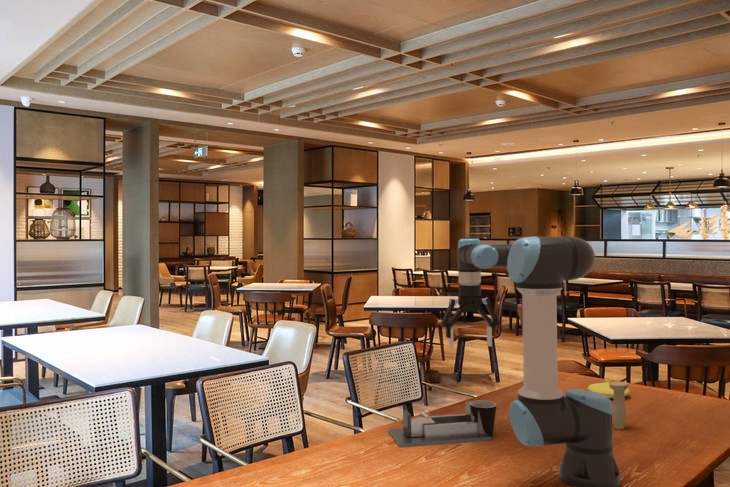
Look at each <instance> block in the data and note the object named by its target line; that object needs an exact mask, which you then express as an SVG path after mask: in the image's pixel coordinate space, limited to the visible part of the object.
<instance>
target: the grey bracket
mask: <svg viewBox="0 0 730 487" xmlns="http://www.w3.org/2000/svg"><path fill="white" fill-rule="evenodd" d="M411 414H412V413H410V412H409V411H408V410H407V409H402V428H403V432H404V433H405V434H406V436H407V437H416V436H424V425H431V424H435V422H434V421H433V420H432V419H431V418H430V417H429V416H430V415H429V416H428V415H427V414H426V413H425V411H421V414H422V415H423V417H426V418H412V415H411Z"/></svg>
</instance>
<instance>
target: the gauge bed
mask: <svg viewBox="0 0 730 487" xmlns="http://www.w3.org/2000/svg"><path fill="white" fill-rule="evenodd" d="M472 401H473V400H466V401H465V404H464V405H465V413H458V414H455V413H454V414H443V415H442V414H441V415H429V417H430V418H431V419H432V420H433V421H434V422H435V424H431V425H424V436H416V437H407V436H406V434H405V433H404V432H403V427H391V428H390V427H389V428H388V433H389V435H391V437H392V439H394V441H395V443H396V444H397V445H398V447H399V448H408V447H419V446H431V445H433V446H435V445H443V444H444V445H446V444H457V443H459V444H460V443H471V442H483V441H484V442H485V441H492V437H491V436H490V435H487V434H486V433H485V432H484V429H483V427H482V422H481V418H480V413H479V411H478V421H477V422H474V421H473V422H472V418H471V409H470V402H472ZM473 406H476V407H482V406H480V405H473ZM416 418H426V417H425V416H416Z"/></svg>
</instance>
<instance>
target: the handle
mask: <svg viewBox="0 0 730 487" xmlns="http://www.w3.org/2000/svg"><path fill="white" fill-rule="evenodd" d="M609 386H610V388H611V389H613V390H614V398H613V401H612V402H613V404H612V405H613V406H612V412H613V415H612V421H613V423H614V424H613V426H614V427H613V428H615V430H624V429H625V426H626V425H625V424H626V417H627V414H626V413H627V412H626V401H625V400H626V398H625V397H626V396H624V391H625V390H626V389H627V388H628V389H629V386H630V385H629V382H625V381H611V383H610V384H609Z"/></svg>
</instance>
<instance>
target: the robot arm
mask: <svg viewBox="0 0 730 487" xmlns="http://www.w3.org/2000/svg"><path fill="white" fill-rule="evenodd" d="M595 261H596V254H595V250H594V249H593V247H592V245H591V244H590V243H589V242H588V241H586V240H584V239H583V238H581V237H577V236H568V235H567V236H534V235H533V236H528V237H527V236H526V237H521V238H518V239H516V241H515V242H514V243H512V244H511V243H510V244H508V243H507V244H482V243H481V240H480V239H479V238H461V239H459V240H458V243H457V265H458V267H457V270H458V274H457V275H458V278H457V279H458V283H459V285H458V298H457V299H453V298H450V299H449V302H448V307H447V308H446V310H445V313H444V315H443V317H442V320H441V322H440V326H441V327H443V328H445V337H446V338H447V339H448V347H449V348H450V349H454V328H452V327H453V326H454V325H455V323H456V322H457V321H458V319H459V318H460V317H461V315H462V314H464V312H465V313H470V312H474V313H475V312H477V313H478V314H479V315H480V316H481V317H482V319H483V320H484V321H485V322H486V323H487V325H486V345H487V347H493V337H494V336H495V327H496V326H499V325H500V320H499V317H498V316H497V314H496V312H495V309H494V308H493V305H492V303H491V298H490V297H485V298H482V286H481V283H482V273H481V272H482V270H484V269H485V270H487V269H492V268H495V269H496V268H498V269H499V268H506V269H507V273H508V277H509V279H510V280H511V281H512V282H514V283H515V288H516V290H517V291H518V292H519V293H520V294H521V296H522V297H521V298H522V301H521V302H522V303H521V304H522V350H523V351H522V354H523V356H522V358H523V361H522V364H523V365H522V366H523V367H522V368H523V386H521V388H520V389H519V390H518V391H517V399H514V401H511V402H510V406H509V411H508V412H509V413H508V414H509V420H510V425H511V427H512V429H513V430H512V431H513V433H514V434H515V437H516V438H517V440H518V441H519V442H520V443H522V445H523V446H526V447H544V446H552V445H553V446H555V445H563V444H565V450H564V454H563V457H562V461H561V463H560V466H559V478H560V480H561V481H562V482H564V483H565V484H567V485H569V486H572V487H619V486H620V485H621V473H620V471H619V467H618V465H617V461H616V459H615V455H614V453H613V449H614V448H613V442H614V441H613V406H612V405H613V404H612V400H611V398H608V397H607V396H605V395H603V394H600V393H596V392H592V391H588V389H587V390H585V389H579V388H578V389H577V388H575V389H574V388H569V389H566V391H565V393H564V392H563V391H562V390H561V389H560V388H559V380H558V374H559V373H558V319H557V318H558V316H557V315H558V314H557V313H558V312H557V311H558V309H557V308H558V306H557V295H558V293H560V292H561V291H562V290H563V281H574V280H578V279H582V278H583V277H585V276H587V275H588V274H589V273H590V272H591V271H592V269H593V268H594V266H595ZM457 304H458V308H457V309H456V311H455V312H454V309H455V307H456V306H457ZM482 304H483V305H484V307H485V308H486V310H487V312H488V314H489V316H488V315H487V313H486V312H485V311H484V310H483V308H482V307H481V305H482ZM453 312H454V314H453V315H452V313H453ZM451 315H452V316H451Z"/></svg>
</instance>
